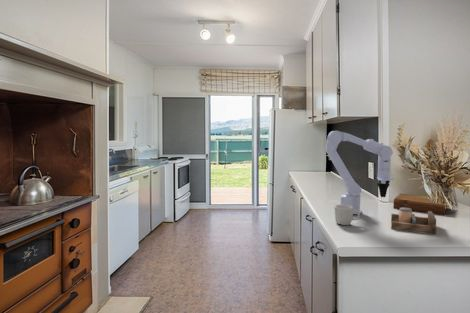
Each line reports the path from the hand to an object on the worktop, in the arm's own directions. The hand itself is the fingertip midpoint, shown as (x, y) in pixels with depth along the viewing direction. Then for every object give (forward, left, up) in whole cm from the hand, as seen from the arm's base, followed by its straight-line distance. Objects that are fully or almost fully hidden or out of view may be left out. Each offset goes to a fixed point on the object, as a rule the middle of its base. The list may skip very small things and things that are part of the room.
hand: (383, 195), depth 153 cm
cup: (-14, -27, -10) cm, 32 cm away
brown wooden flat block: (+18, +22, -10) cm, 30 cm away
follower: (+12, -18, -9) cm, 24 cm away
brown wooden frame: (+12, -18, -9) cm, 24 cm away
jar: (+9, -18, -9) cm, 22 cm away
